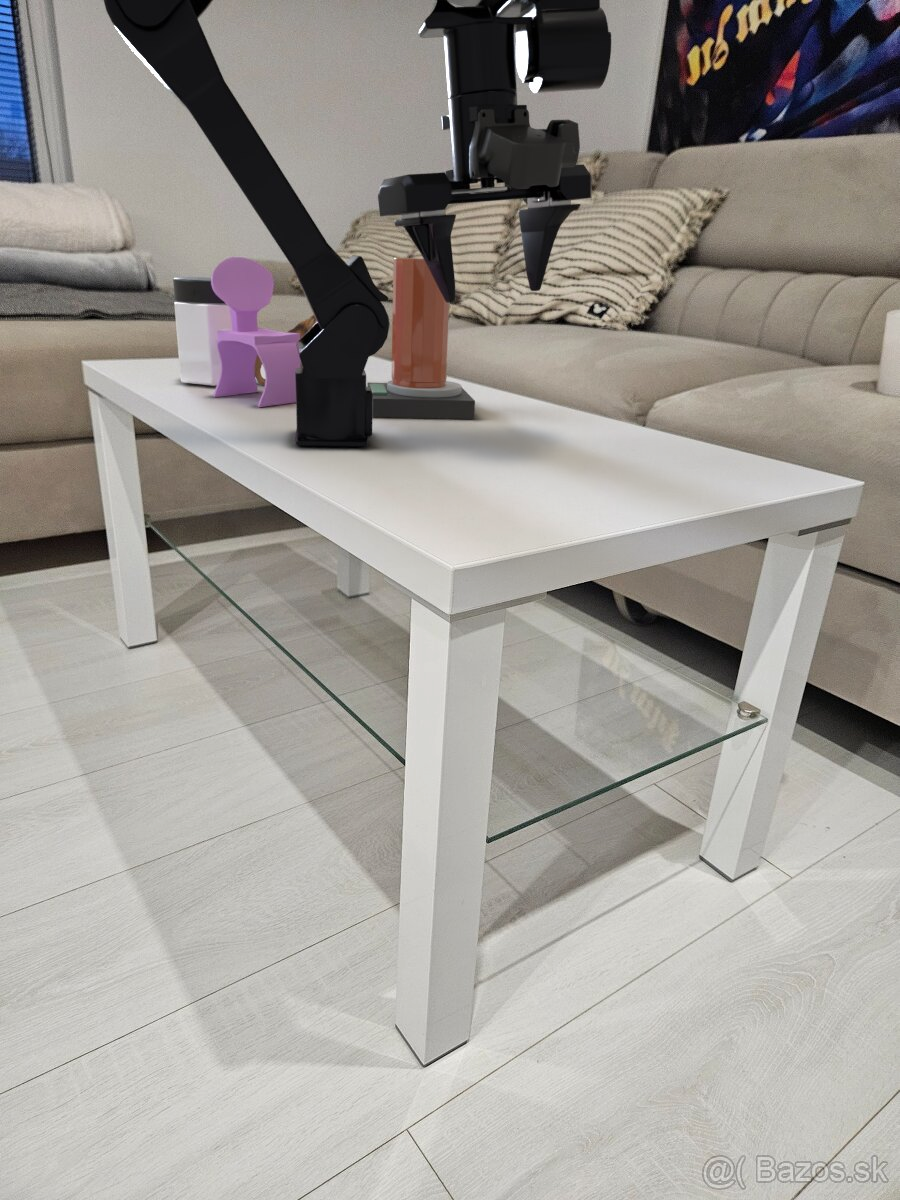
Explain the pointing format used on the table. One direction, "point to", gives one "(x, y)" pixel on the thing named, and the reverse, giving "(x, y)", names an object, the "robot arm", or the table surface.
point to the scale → (421, 401)
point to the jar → (199, 329)
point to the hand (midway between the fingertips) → (493, 296)
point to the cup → (418, 327)
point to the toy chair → (252, 335)
